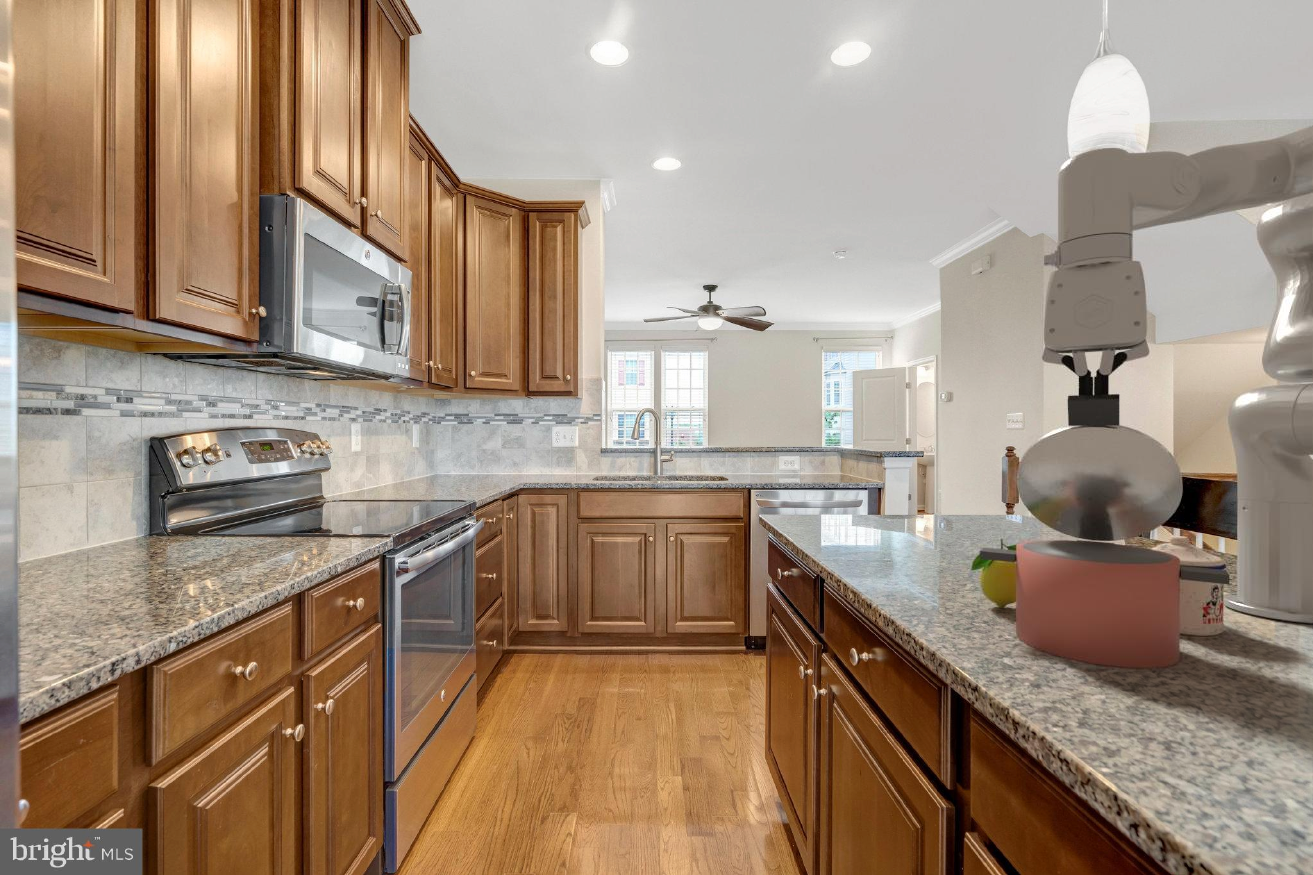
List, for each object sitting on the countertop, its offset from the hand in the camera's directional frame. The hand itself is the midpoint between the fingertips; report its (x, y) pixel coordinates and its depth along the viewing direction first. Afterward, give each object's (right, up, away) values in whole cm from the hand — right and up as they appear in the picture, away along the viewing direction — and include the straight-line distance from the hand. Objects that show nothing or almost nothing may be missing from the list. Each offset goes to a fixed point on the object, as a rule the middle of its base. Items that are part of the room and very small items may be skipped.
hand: (1093, 408), depth 77 cm
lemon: (-3, -28, +14) cm, 32 cm away
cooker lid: (+1, -8, +1) cm, 8 cm away
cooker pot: (-1, -28, -1) cm, 28 cm away
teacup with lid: (+16, -28, +6) cm, 33 cm away
